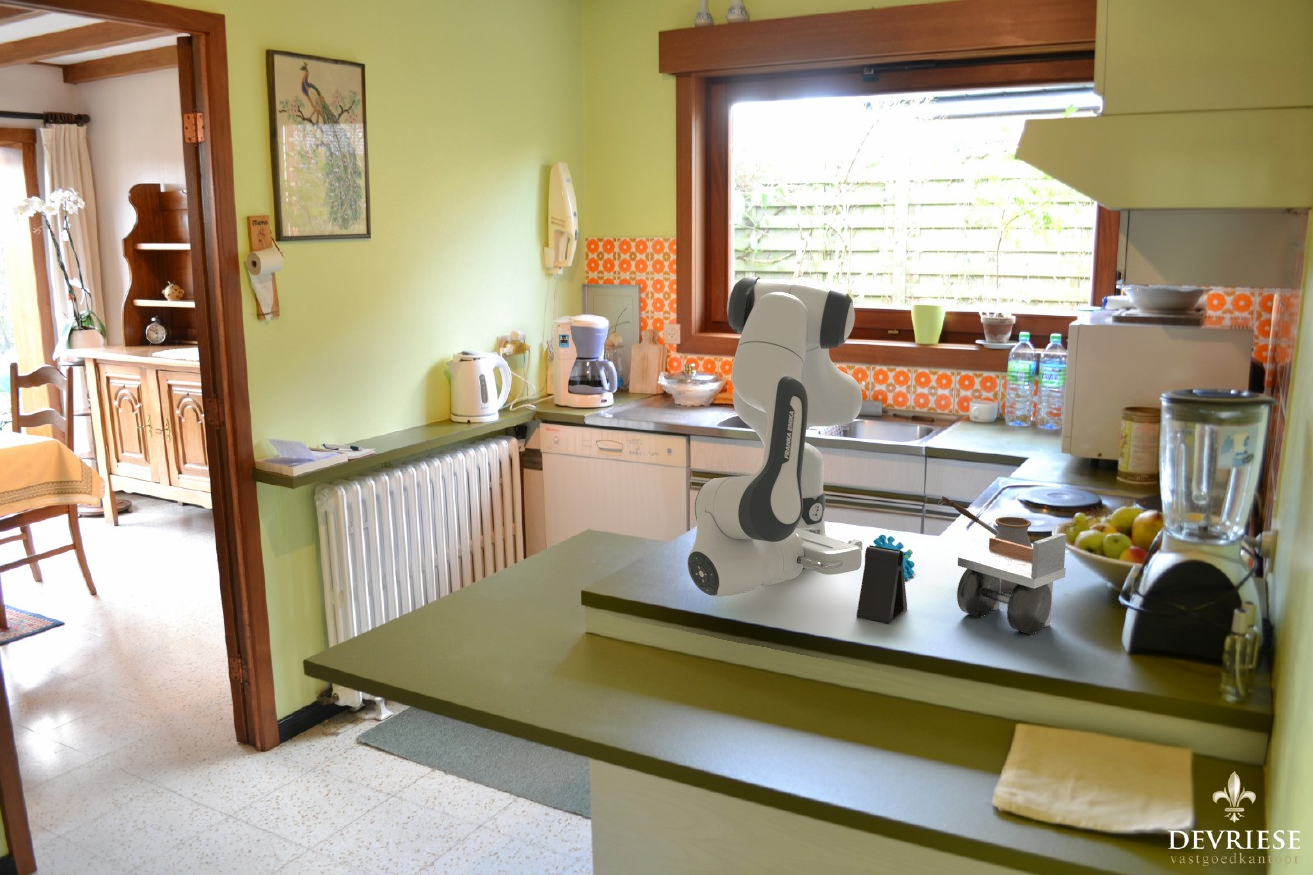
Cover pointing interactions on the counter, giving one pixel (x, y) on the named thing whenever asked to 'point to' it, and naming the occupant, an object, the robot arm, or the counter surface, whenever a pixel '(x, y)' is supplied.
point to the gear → (906, 555)
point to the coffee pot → (1001, 533)
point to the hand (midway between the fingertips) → (837, 538)
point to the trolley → (1013, 580)
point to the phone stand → (882, 585)
